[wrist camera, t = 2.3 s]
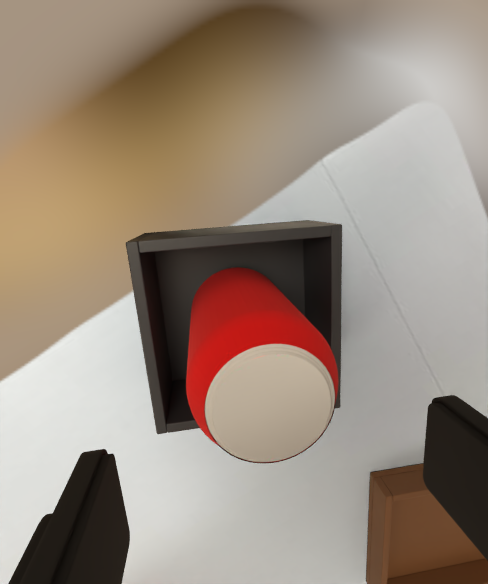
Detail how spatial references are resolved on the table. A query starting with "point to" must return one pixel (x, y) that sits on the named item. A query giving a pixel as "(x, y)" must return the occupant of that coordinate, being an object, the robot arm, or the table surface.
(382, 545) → the tray
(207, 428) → the beverage can
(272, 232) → the bin
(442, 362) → the table surface
